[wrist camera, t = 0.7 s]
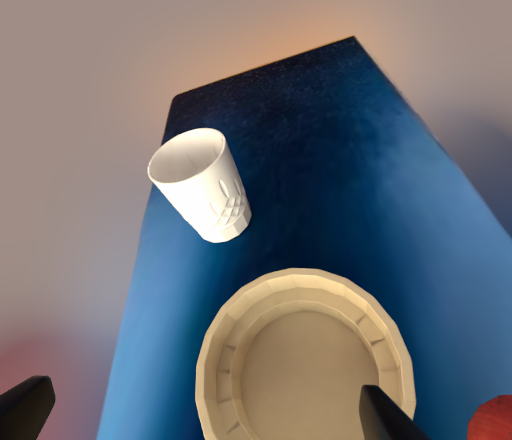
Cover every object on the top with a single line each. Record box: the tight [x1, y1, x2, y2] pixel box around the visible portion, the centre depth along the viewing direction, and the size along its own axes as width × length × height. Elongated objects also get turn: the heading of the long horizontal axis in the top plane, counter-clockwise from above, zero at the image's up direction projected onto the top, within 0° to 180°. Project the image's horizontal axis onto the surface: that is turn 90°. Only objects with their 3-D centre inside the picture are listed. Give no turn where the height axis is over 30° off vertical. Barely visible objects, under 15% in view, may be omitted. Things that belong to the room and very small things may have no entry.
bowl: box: [196, 268, 416, 440], centre depth 20 cm, size 13×13×5 cm
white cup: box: [148, 128, 251, 243], centre depth 31 cm, size 8×8×10 cm
